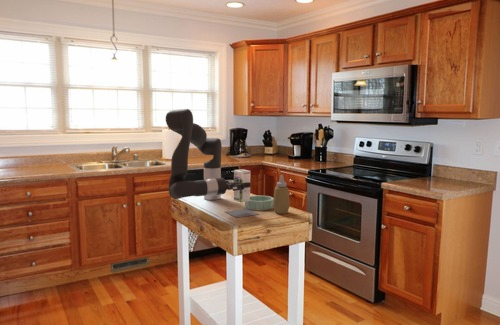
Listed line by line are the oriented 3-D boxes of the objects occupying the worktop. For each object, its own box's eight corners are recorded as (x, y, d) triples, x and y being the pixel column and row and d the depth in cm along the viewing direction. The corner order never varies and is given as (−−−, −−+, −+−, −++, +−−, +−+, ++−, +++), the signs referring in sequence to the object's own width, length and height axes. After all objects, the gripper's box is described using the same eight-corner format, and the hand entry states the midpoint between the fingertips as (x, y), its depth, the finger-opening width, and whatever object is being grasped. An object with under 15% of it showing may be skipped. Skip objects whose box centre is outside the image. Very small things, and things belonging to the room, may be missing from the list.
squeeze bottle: (283, 209, 192) (284, 173, 190) (293, 213, 185) (293, 175, 183) (269, 211, 188) (269, 174, 186) (278, 215, 181) (279, 176, 179)
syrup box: (233, 200, 185) (233, 169, 183) (242, 198, 189) (243, 168, 187) (240, 202, 180) (240, 171, 178) (250, 201, 184) (251, 170, 182)
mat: (224, 212, 187) (224, 211, 187) (246, 209, 193) (246, 208, 193) (236, 217, 177) (236, 217, 177) (259, 214, 183) (259, 213, 183)
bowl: (240, 205, 200) (240, 197, 200) (263, 202, 207) (263, 194, 207) (254, 211, 188) (254, 202, 188) (278, 208, 195) (279, 199, 195)
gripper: (220, 181, 170) (254, 177, 178) (207, 176, 182) (239, 173, 190) (220, 198, 171) (254, 194, 179) (207, 192, 183) (238, 188, 191)
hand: (246, 183), depth 185 cm, fingers closed on syrup box, 6 cm apart
